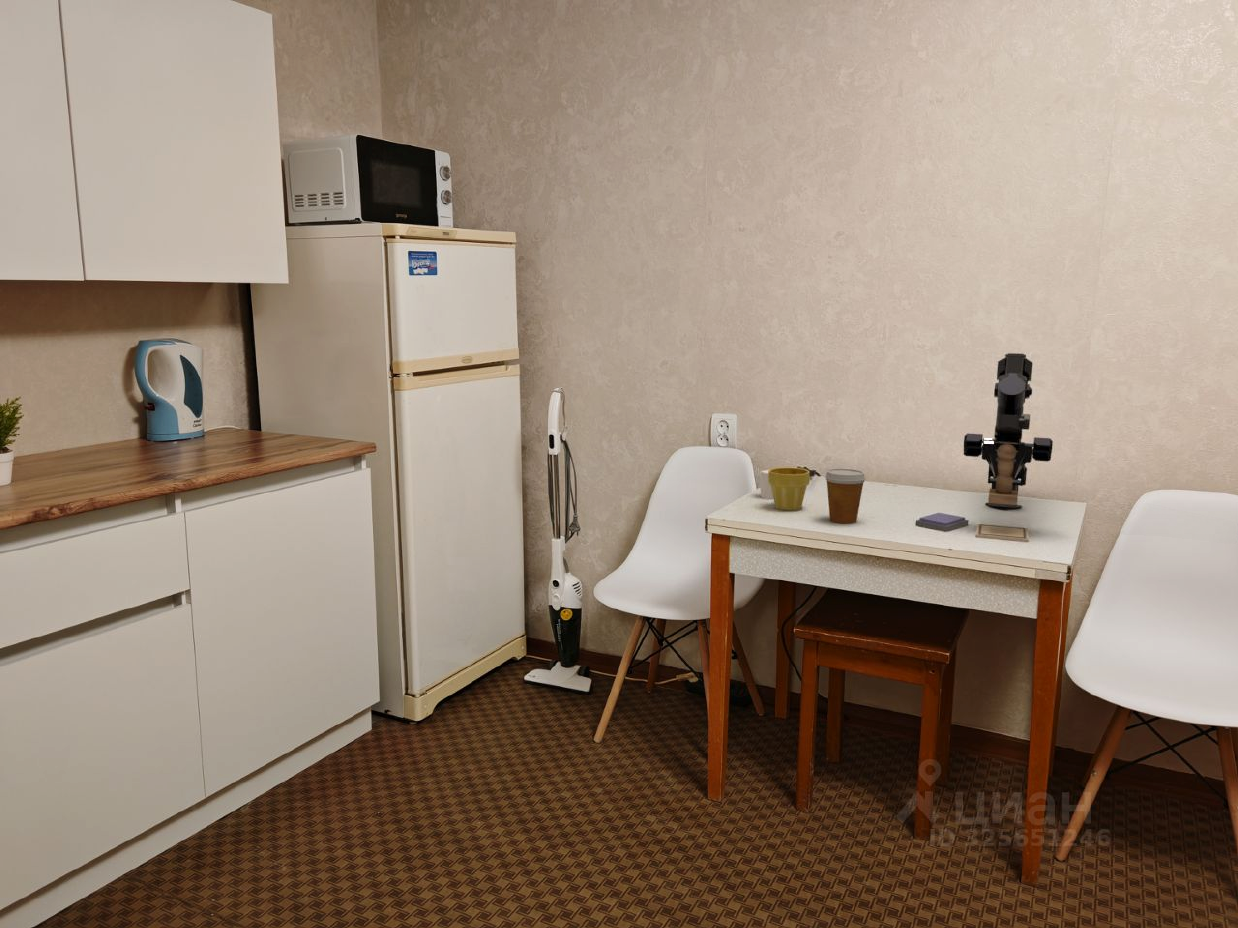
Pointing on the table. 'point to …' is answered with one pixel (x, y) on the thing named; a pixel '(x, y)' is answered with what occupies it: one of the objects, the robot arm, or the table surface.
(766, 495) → the white cube
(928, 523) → the ink pad
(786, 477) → the plant pot
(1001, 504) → the stamp
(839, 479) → the disposable coffee cup
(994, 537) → the beige square tile
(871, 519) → the table surface
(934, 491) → the table surface
